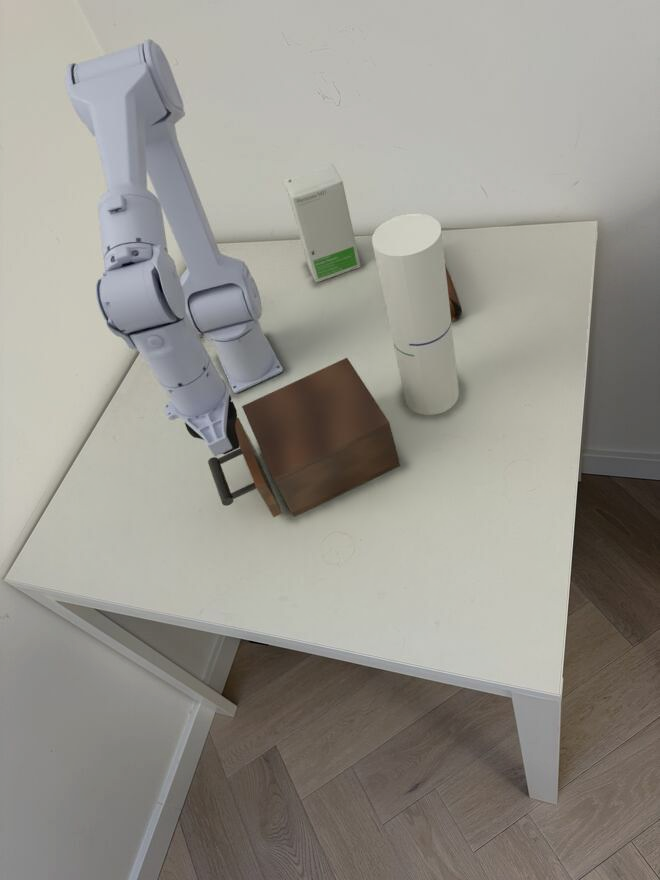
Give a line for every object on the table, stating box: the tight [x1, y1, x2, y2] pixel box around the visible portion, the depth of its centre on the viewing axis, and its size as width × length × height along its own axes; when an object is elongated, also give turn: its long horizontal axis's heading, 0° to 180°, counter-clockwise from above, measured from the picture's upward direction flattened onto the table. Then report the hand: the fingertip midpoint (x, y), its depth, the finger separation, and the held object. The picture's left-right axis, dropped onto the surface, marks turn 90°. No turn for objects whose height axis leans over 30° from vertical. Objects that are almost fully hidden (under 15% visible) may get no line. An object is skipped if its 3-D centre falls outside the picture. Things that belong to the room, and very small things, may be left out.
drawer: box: [207, 417, 283, 518], centre depth 78 cm, size 18×11×7 cm, turn 112°
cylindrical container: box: [371, 213, 460, 416], centre depth 75 cm, size 7×7×25 cm
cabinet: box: [241, 357, 401, 518], centre depth 79 cm, size 15×13×9 cm
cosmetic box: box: [283, 163, 361, 283], centre depth 101 cm, size 8×7×16 cm
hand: (230, 447), depth 74 cm, fingers closed
